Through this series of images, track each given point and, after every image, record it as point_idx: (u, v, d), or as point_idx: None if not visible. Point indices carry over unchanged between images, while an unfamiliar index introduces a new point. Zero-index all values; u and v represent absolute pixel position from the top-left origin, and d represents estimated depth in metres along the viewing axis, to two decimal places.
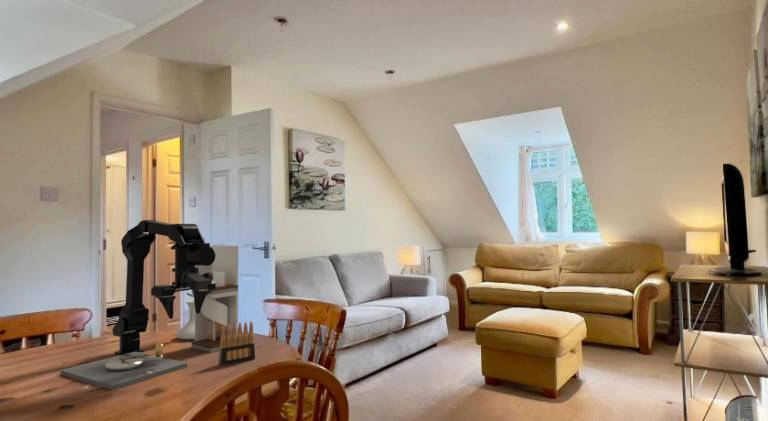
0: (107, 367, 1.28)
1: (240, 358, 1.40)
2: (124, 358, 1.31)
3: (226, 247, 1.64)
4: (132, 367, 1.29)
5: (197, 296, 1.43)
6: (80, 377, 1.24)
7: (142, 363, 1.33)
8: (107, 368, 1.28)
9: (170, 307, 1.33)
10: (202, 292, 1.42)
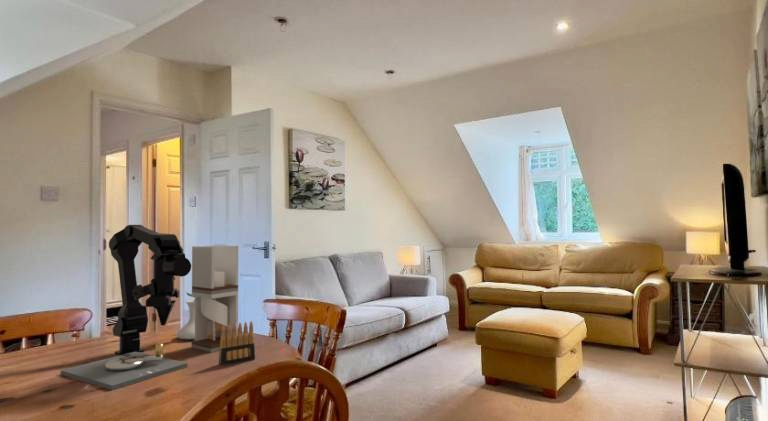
0: (107, 367, 1.28)
1: (240, 358, 1.40)
2: (124, 358, 1.31)
3: (226, 247, 1.64)
4: (132, 367, 1.29)
5: None
6: (80, 377, 1.24)
7: (142, 363, 1.33)
8: (107, 368, 1.28)
9: None
10: None
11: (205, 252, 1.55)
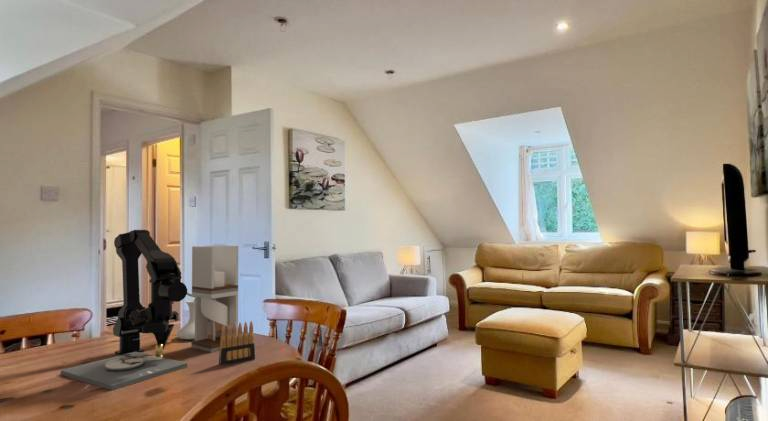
0: (107, 367, 1.28)
1: (240, 358, 1.40)
2: (124, 358, 1.31)
3: (226, 247, 1.64)
4: (132, 367, 1.29)
5: None
6: (80, 377, 1.24)
7: (142, 363, 1.33)
8: (107, 368, 1.28)
9: None
10: None
11: (205, 252, 1.55)
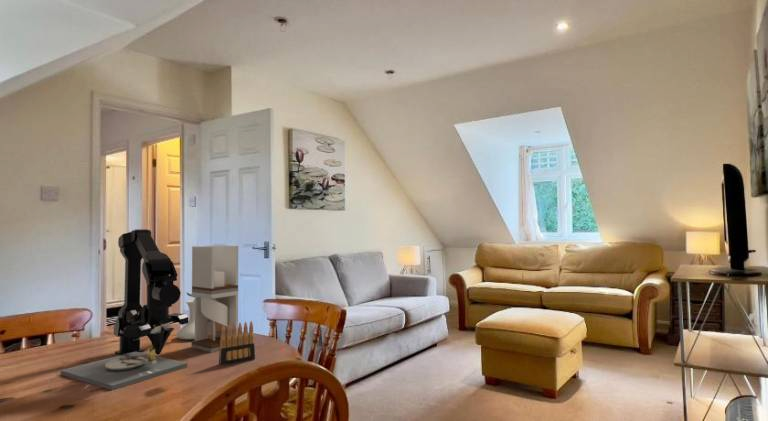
0: None
1: (240, 358, 1.40)
2: (121, 358, 1.31)
3: (226, 247, 1.64)
4: (122, 369, 1.28)
5: None
6: (80, 377, 1.24)
7: (135, 366, 1.30)
8: None
9: None
10: None
11: (205, 252, 1.55)
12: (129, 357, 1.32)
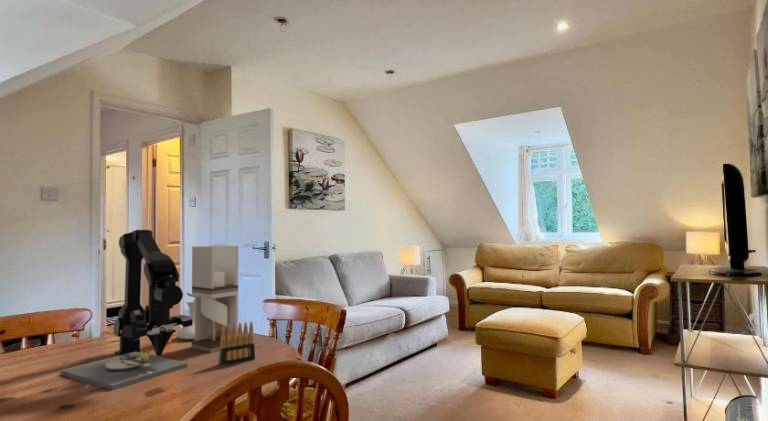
0: None
1: (240, 358, 1.40)
2: (120, 358, 1.31)
3: (226, 247, 1.64)
4: (117, 369, 1.28)
5: None
6: (80, 377, 1.24)
7: (131, 367, 1.29)
8: None
9: None
10: None
11: (205, 252, 1.55)
12: (128, 357, 1.32)
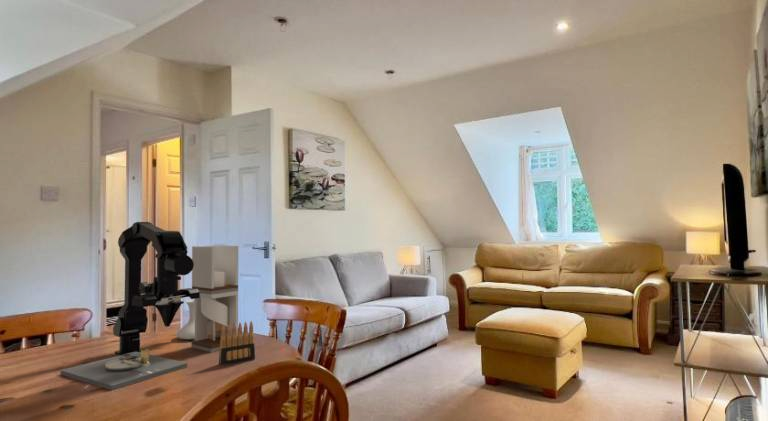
0: None
1: (240, 358, 1.40)
2: (120, 358, 1.31)
3: (226, 247, 1.64)
4: (117, 369, 1.28)
5: None
6: (80, 377, 1.24)
7: (131, 367, 1.29)
8: None
9: None
10: None
11: (205, 252, 1.55)
12: (128, 357, 1.32)
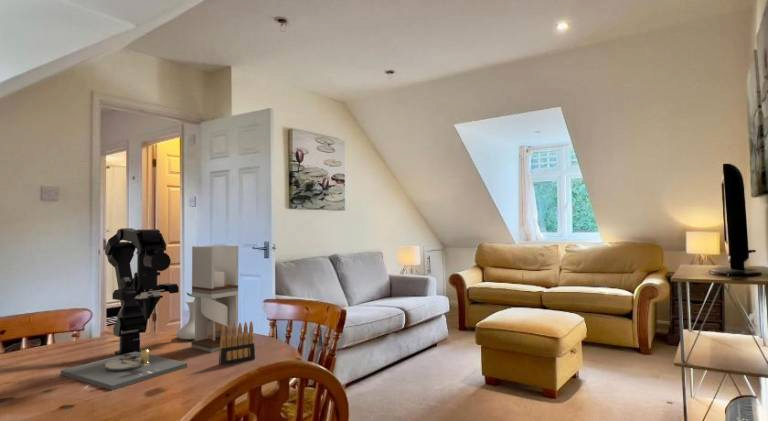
0: None
1: (240, 358, 1.40)
2: (120, 358, 1.31)
3: (226, 247, 1.64)
4: (117, 369, 1.28)
5: None
6: (80, 377, 1.24)
7: (131, 367, 1.29)
8: None
9: None
10: None
11: (205, 252, 1.55)
12: (128, 357, 1.32)
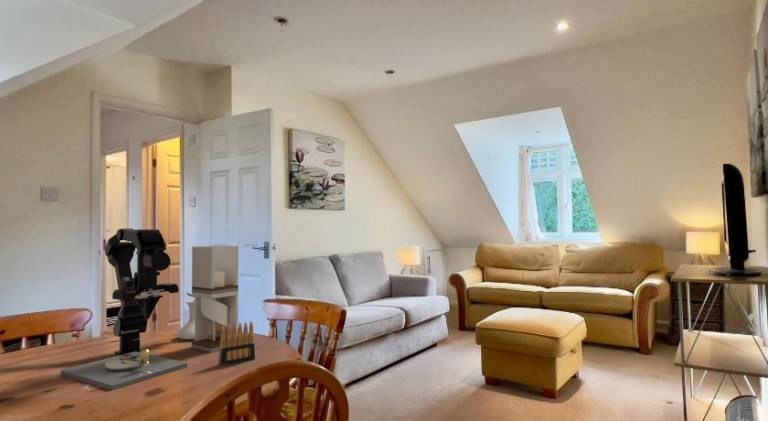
0: None
1: (240, 358, 1.40)
2: (120, 358, 1.31)
3: (226, 247, 1.64)
4: (117, 369, 1.28)
5: None
6: (80, 377, 1.24)
7: (131, 367, 1.29)
8: None
9: None
10: None
11: (205, 252, 1.55)
12: (128, 357, 1.32)
